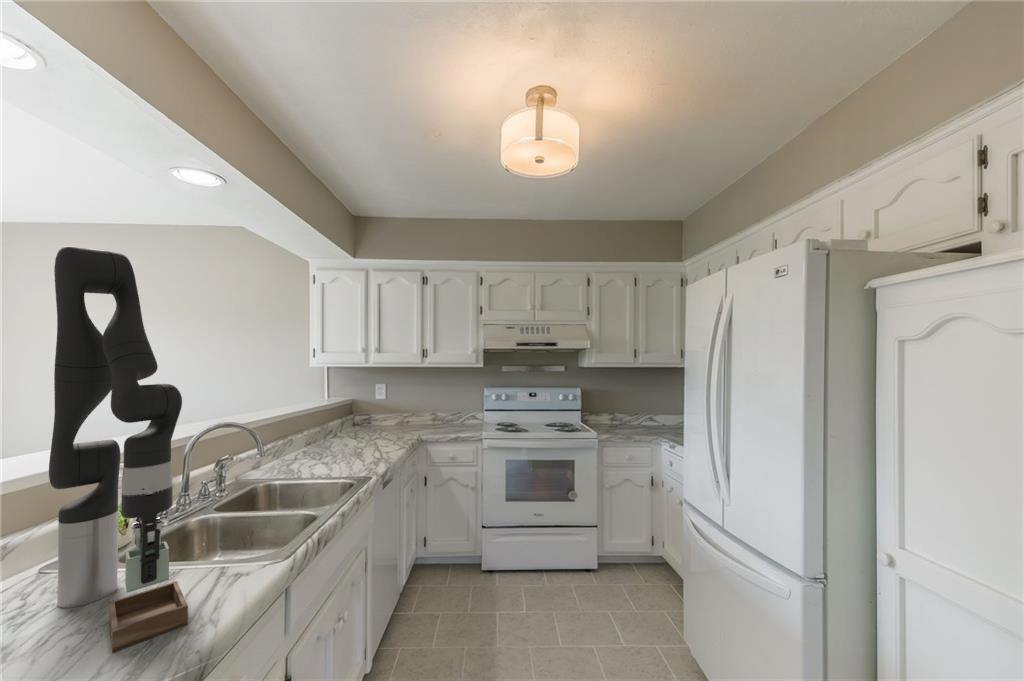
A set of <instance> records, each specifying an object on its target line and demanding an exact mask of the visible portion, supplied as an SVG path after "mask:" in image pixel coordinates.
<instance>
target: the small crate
mask: <svg viewBox="0 0 1024 681" xmlns="http://www.w3.org/2000/svg"><path fill="white" fill-rule="evenodd" d="M150 554H154V550H150V551H147V552H146V553H145V556H146V555H150ZM159 554H160V557H159V559H158V560H157V578H156V580H155V581H152V582H149V583H145V584H142V583H141V562H140V552H139V551H137V548H134V549H130V550H125V577H124V578H125V584H124V585H125V590H126V593H127V594H128V593H131V592H135V591H138V590H141V589H144V588H148V587H150V586H154V585H157V584H160V583H164V582H168V581H169V580H170V547H169V545H168V542H167V541H166V540H165V541H161V544H160V545H159Z"/></svg>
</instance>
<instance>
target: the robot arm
mask: <svg viewBox="0 0 1024 681" xmlns="http://www.w3.org/2000/svg"><path fill="white" fill-rule="evenodd" d="M54 259H55V260H54V270H53V271H54V287H55V288H54V289H55V290H54V292H55V301H56V302H55V303H56V317H57V318H56V319H57V320H56V322H57V323H56V327H57V328H56V341H55V342H56V346H55V356H54V374H53V376H54V377H53V378H54V379H53V380H54V386H53V387H54V418H53V428H52V429H53V430H52V437H51V444H50V445H51V446H50V454H49V464H48V480H49V484H50V485H51V487H52V488H54V489H56V490H64V489H65V490H66V489H70V488H71V489H72V488H77V487H84V486H89V485H95V484H97V486H96V487H95V488H94V489H93V490H91V491H89V492H88V493H87V494H85V495H83V496H81V497H79V498H78V499H75V500H72V501H70V502H69V503H66V504H64V505H63V506H62V507H60V509H59V511H58V524H57V525H58V526H57V529H58V530H57V531H58V532H57V536H58V538H57V541H58V542H57V545H58V546H57V589H56V590H57V591H56V592H57V601H56V602H57V603H56V604H57V607H58V608H62V609H63V608H64V609H69V608H76V607H77V608H78V607H82V606H84V605H89V604H92V603H94V602H97V601H100V600H101V599H104V598H106V597H108V596H110V595H112V594H113V593H114V592H115V591H117V588H118V571H119V570H118V569H119V568H118V566H119V565H118V564H119V563H118V561H119V560H118V559H119V558H118V556H119V555H118V554H119V549H118V548H119V545H118V543H119V542H118V541H119V480H120V469H121V468H120V467H121V448H120V445H119V443H118V442H117V441H116V440H114V439H101V440H94V441H86V442H85V441H84V442H79V443H78V442H77V443H74V442H75V440H76V437H77V435H78V433H79V430H80V429H81V427H82V425H83V424H84V423H85V421H86V420H87V418H88V417H89V416H90V415H91V413H93V411H94V410H95V409H96V408H97V407H98V406H100V404H101V403H102V402H103V401H104V400H105V399H106V398H107V396H108V395H109V394H110V393H111V394H110V409H111V413H112V415H113V416H114V417H115V418H116V419H117V420H119V421H120V422H123V423H139V422H148V421H150V422H149V423H148V426H147V427H146V429H145V430H143V431H141V432H138V433H134V434H133V435H130V436H128V437H127V438H126V439H125V440H124V443H123V470H122V471H123V472H122V476H121V512H120V513H121V516H122V518H126V519H135V523H133V528H132V529H133V534H134V545H135V546H136V549H137V551H139V552H140V562H141V583H142V584H145V583H149V582H152V581H155V580H156V578H157V560H158V559H159V557H160V554H159V545H160V544H161V542H162V539H161V537H162V536H161V530H162V528H163V521H162V520H161V517H157V516H158V514H161V513H163V512H167V511H168V510H170V509H171V508H172V507H173V502H174V501H173V497H174V496H173V490H174V489H173V485H174V484H173V473H174V472H173V466H172V438H173V436H174V432H175V429H176V426H177V422H178V420H179V416H180V413H181V411H182V405H183V396H182V393H181V392H180V389H178V388H177V387H176V386H175V385H174V384H171V383H155V384H140V383H139V382H138V381H141V380H144V379H147V378H149V377H152V376H153V375H154V374H156V372H157V371H158V362H157V359H156V356H155V354H154V352H153V349H152V346H151V344H150V341H149V339H148V336H147V333H146V330H145V326H144V322H143V315H142V310H141V303H140V302H141V301H140V296H139V291H138V285H137V280H136V275H135V271H134V268H133V265H132V263H131V261H130V260H129V258H128V257H127V256H126V255H125V254H123V253H121V252H118V251H117V252H116V251H111V250H104V249H97V248H88V247H80V246H71V245H70V246H69V245H68V246H67V245H66V246H63V247H61V248H60V249H59V250H58V251H57V254H56V257H55V258H54ZM85 294H100V295H102V294H103V295H112V296H113V298H114V300H115V304H116V306H115V311H114V313H113V315H112V317H111V319H110V320H109V322H108V324H107V326H106V328H105V330H104V332H103V334H102V333H101V331H100V330H99V329H98V328H97V326H95V324H94V322H93V321H92V319H91V318H90V316H89V313H88V311H87V307H86V303H85ZM150 550H154V554H150V555H146V556H145V553H146V552H147V551H150Z"/></svg>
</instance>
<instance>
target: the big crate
mask: <svg viewBox="0 0 1024 681" xmlns="http://www.w3.org/2000/svg"><path fill="white" fill-rule="evenodd" d="M108 605H109V606H108V607H109V608H108V610H109V612H108V613H109V616H108V621H109V623H108V624H109V632H110V633H109V634H110V642H111V652H112V654H113V653H116V652H119V651H121V650H125V649H126V648H129V647H132V646H135V645H138V644H139V643H142V642H145V641H147V640H150V639H154V638H155V637H158V636H161V635H163V634H166V633H170V632H172V631H174V630H177V629H179V628H181V627H184V626H187V625H189V624H188V623H189V622H188V621H189V615H188V614H189V607H188V606H189V605H188V602H187V600H186V598H185V596H184V594H183V591H182V588H181V587H180V585H179V583H178V581H177V580H175V581H172V582H168V583H166V584H163V585H159V586H157V587H154V588H151V589H147V590H144V591H140V592H137V593H135V594H131V595H128V596H125V597H122V598H118V599H115V600H113V601H109V604H108Z"/></svg>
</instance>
